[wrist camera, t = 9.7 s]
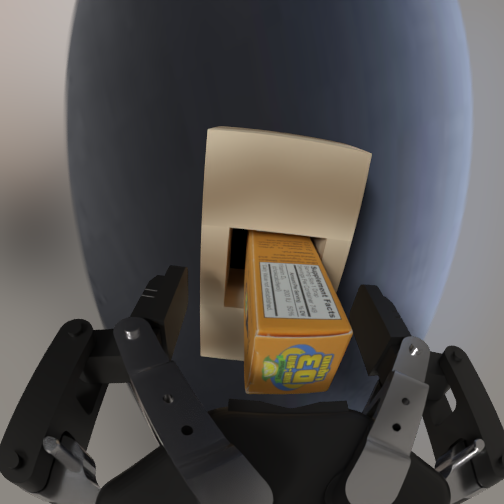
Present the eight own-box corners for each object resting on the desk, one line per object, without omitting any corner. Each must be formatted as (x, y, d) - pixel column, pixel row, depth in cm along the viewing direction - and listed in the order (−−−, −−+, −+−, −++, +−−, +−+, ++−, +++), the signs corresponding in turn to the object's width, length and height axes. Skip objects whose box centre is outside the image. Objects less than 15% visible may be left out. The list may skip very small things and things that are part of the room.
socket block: (220, 126, 14) (208, 129, 10) (345, 143, 14) (371, 153, 11) (209, 315, 20) (200, 355, 16) (303, 323, 20) (310, 364, 17)
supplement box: (298, 265, 18) (327, 399, 9) (244, 260, 18) (234, 397, 9) (307, 216, 16) (357, 337, 8) (249, 211, 16) (239, 333, 7)
